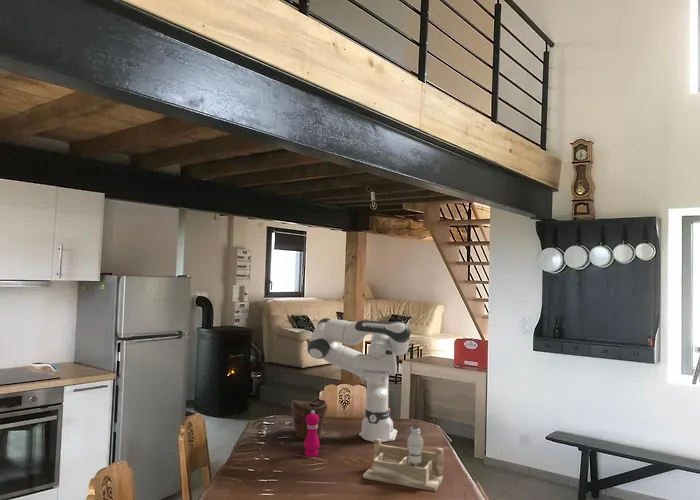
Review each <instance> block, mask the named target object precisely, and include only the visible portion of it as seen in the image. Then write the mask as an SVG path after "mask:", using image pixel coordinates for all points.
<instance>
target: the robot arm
mask: <svg viewBox="0 0 700 500" xmlns="http://www.w3.org/2000/svg"><path fill="white" fill-rule="evenodd" d="M411 333H412V332H411V327H410V326H409V325H408V324H407V323H405V322H403V321H379V320H369V319H368V320H366V319H365V320H364V319H363V320H359V321H349V320H345V319H332V318H328V317H324V318H321V319H320V320H319V321H318V322H317V324H316V326H315V328H314V329H313V331H312V334H311V337H310V340H309V342H308V344H307V353H308V355H310V356H311V357H312V358H314V359H317V360H319V359H321V360H324V361H325V362H327V363H329V364H331V365H332V366H335V367H337V368H339V369H342V370H344V371H347V372H349V373H352V374H354V375H356V376H358V377H359V378H360V381H366V393H365V394H366V396H365V401H366V402H365V404H366V405H365V409H364V410H365V411H364V418H363V419H362V420H361V422H362V423H361V432H359V433H358V436H359V437H361V438H362V439H363V440H364V441H365V440H366V441H369V442H372V443H374V439H381V443H383V442H391V441H395V440H396V438H397V434H398V430H397V429H395V428H394V421H393V420H392V419H391V416H390V412H391V408H390V407H389V378H390V377H389V376H395V375H396V374H397V372H398V365H397V363H398V362H397V357H398V356H399V357H401V356H404V355H406V354H407V353H408V352H409V349H410V348H409V344H410V337H411ZM371 334H372V335H371ZM367 335H371V339H370V345H369V349H368V352H367V354H365V353H362V352H361V351H358V350H357V349H356V350H355V349H354V348H352V347H349V346H356V345H358V344H360V343H361V342H362V341H363V340H364V339H365V337H366V336H367ZM343 344H344V345H343ZM346 345H348V346H346Z"/></svg>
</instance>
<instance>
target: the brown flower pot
mask: <svg viewBox="0 0 700 500" xmlns="http://www.w3.org/2000/svg"><path fill="white" fill-rule="evenodd" d="M290 408H291V410H290V411H291V415H292V421H293V426H294V432H295V433H294V434H295V436H296V437H298V438H303V439H306V437H307V434H308V428H307V424H308V423H307V422H306V417H307V415H309V414H311V411H312V410H314V411H315V413H314V414H317V415H318V417H319V422H318V423H317V424H318V428H317V436H318V437H320V436H321V434H322V430H323V425H324V421H325V417H326V413H327V410H328V404H327V401H326V400H325V399H320V398H317V399H315V400H309V401H307V400H305V401H303V400H295V399H292V401H291V407H290Z"/></svg>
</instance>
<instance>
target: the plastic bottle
mask: <svg viewBox="0 0 700 500" xmlns="http://www.w3.org/2000/svg"><path fill="white" fill-rule="evenodd" d="M409 432H410V434H409V436H408V438H407V440H406V444H407V449H408V464H407V465H409V466H415V467H421V468H422V451H423V448H424V447H423V446H424V439H423V436H421V429H420V426H419V427H418V426H410V431H409Z"/></svg>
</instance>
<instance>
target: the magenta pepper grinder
mask: <svg viewBox="0 0 700 500" xmlns="http://www.w3.org/2000/svg"><path fill="white" fill-rule="evenodd" d="M314 413H315V411H314V410H312V411H311V414H309V415H307V417H306V422H307V423H308V424H307V428H308V434H307V437H306V438H304V443H303V447H304V448H305V449H304V455H305V456H306V457H318V456H319V452H320V451H319V448H320V443H321V441H320V439H319V436H317V428H318V424H317V423H318V422H319V417H318V415H317V414H314Z"/></svg>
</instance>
